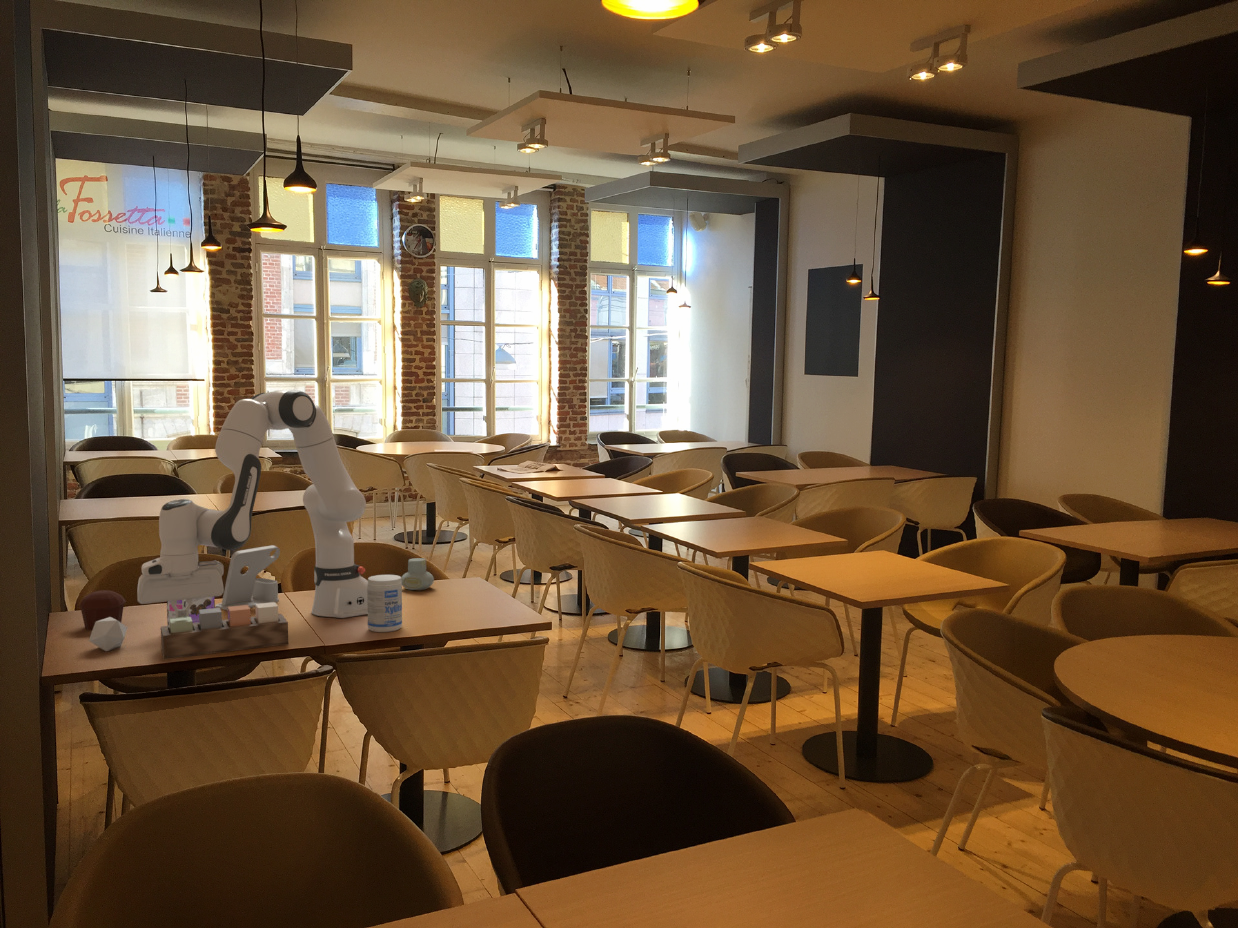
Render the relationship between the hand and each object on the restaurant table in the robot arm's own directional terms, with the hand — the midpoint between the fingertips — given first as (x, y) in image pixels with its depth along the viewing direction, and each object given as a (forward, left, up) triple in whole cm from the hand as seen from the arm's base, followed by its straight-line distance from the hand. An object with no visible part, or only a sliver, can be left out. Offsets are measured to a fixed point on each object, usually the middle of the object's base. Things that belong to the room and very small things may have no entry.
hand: (182, 616), depth 247 cm
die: (+17, -12, -10) cm, 23 cm away
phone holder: (-22, -47, -10) cm, 53 cm away
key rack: (-10, 0, -9) cm, 14 cm away
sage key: (0, 0, -6) cm, 6 cm away
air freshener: (-75, -44, -10) cm, 88 cm away
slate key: (-7, 0, -4) cm, 8 cm away
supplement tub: (-52, +1, -10) cm, 53 cm away
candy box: (-4, -25, -10) cm, 27 cm away
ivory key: (-21, 0, -4) cm, 21 cm away
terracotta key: (-14, 0, -4) cm, 14 cm away
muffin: (+18, -37, -10) cm, 42 cm away
